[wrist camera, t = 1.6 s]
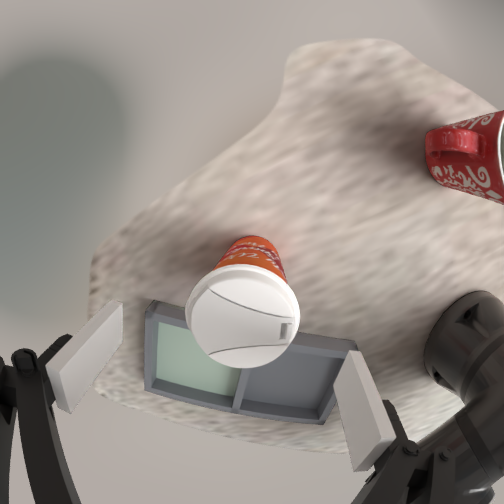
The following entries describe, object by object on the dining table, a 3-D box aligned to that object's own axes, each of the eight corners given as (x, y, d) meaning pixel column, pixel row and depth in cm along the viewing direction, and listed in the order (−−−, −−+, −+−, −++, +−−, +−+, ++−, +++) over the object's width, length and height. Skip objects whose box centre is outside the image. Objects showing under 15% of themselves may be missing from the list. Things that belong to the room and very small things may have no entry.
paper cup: (292, 229, 31) (310, 277, 17) (284, 296, 33) (292, 378, 19) (218, 222, 31) (179, 264, 17) (214, 289, 33) (182, 366, 20)
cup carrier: (354, 341, 34) (359, 353, 31) (321, 411, 38) (323, 424, 35) (154, 300, 34) (145, 310, 31) (151, 378, 37) (144, 390, 35)
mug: (477, 130, 26) (553, 126, 13) (471, 200, 28) (548, 222, 15) (392, 102, 26) (462, 70, 13) (387, 181, 28) (459, 195, 16)
